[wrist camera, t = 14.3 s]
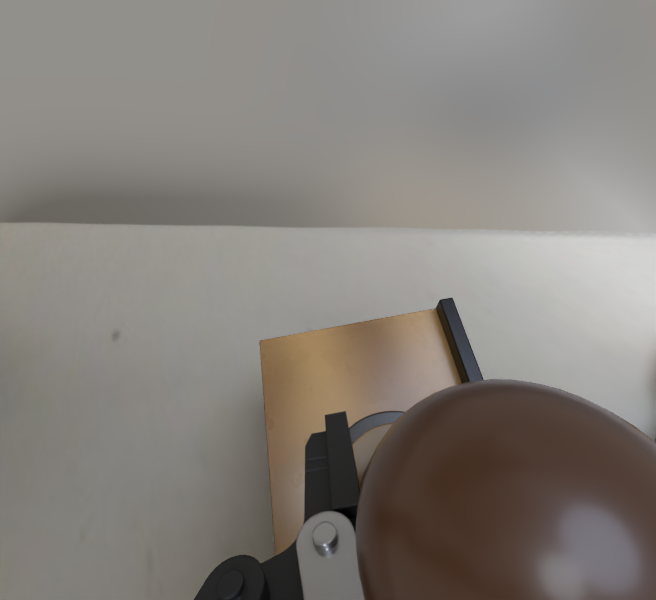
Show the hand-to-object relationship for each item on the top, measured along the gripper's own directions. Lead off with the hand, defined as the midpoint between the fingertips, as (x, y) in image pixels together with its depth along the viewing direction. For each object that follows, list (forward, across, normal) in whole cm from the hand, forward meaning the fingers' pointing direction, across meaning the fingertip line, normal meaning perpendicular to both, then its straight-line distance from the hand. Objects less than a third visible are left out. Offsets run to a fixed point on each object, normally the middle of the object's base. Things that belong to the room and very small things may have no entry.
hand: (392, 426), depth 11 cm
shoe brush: (+4, 0, +7) cm, 8 cm away
